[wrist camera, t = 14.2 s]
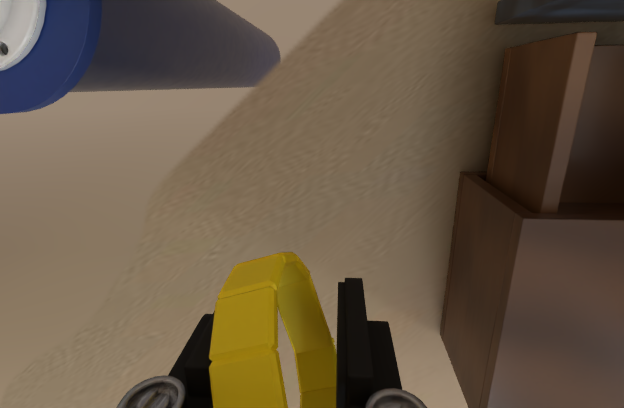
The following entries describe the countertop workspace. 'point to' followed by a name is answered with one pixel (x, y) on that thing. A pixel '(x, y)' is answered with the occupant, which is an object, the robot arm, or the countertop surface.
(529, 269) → the cabinet
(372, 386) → the robot arm
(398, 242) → the countertop surface
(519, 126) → the drawer
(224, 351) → the watch
